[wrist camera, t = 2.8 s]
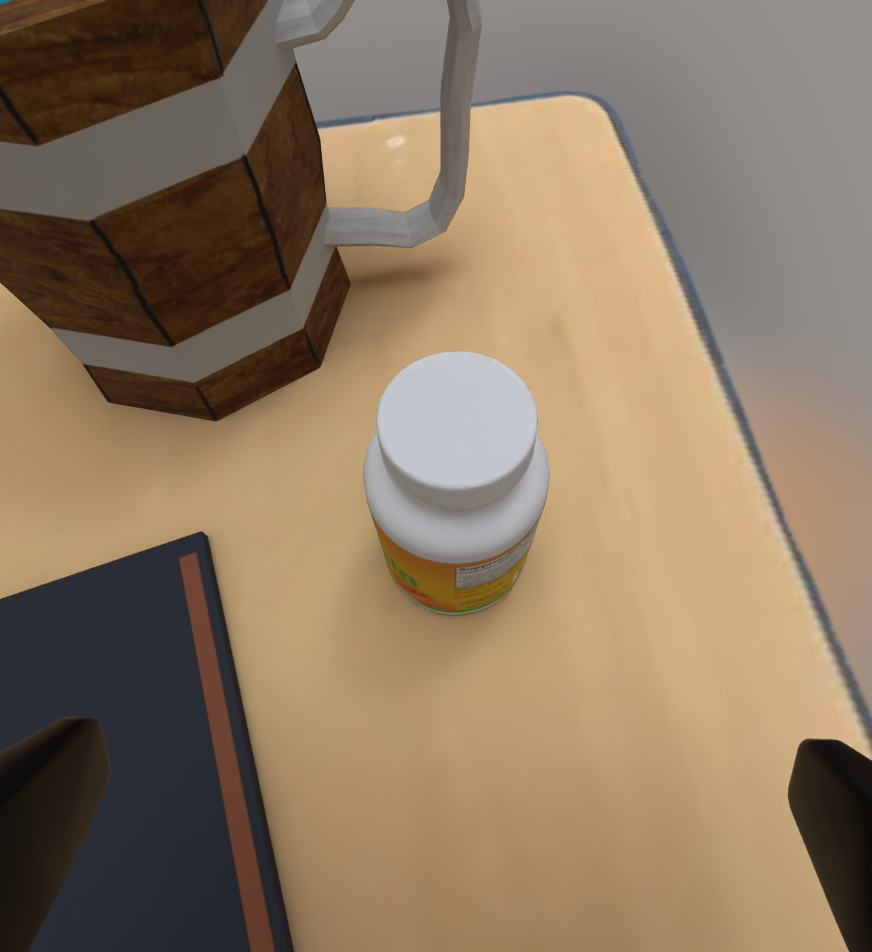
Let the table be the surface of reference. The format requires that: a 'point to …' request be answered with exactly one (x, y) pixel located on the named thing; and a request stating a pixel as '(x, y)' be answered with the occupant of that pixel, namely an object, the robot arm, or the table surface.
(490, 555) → the supplement bottle
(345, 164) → the table surface
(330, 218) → the mug
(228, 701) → the placemat
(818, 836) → the robot arm
